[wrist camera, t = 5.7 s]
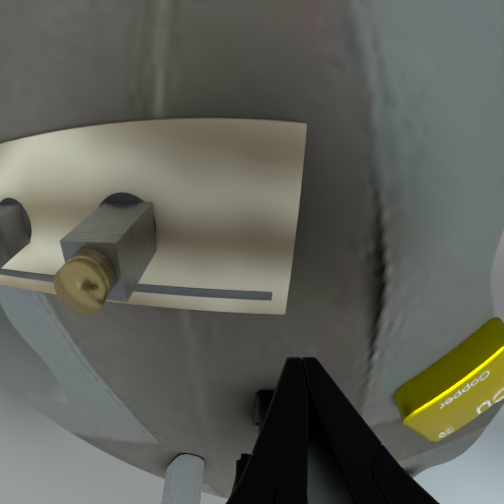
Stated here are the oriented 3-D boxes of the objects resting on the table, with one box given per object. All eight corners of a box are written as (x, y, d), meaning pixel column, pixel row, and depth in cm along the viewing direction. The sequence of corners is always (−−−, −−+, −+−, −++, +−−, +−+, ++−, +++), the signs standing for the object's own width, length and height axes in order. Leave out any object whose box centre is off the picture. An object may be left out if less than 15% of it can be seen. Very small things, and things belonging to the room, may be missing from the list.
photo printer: (189, 473, 40) (181, 533, 29) (164, 466, 39) (154, 527, 28) (208, 457, 35) (201, 531, 24) (180, 450, 34) (168, 525, 23)
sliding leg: (156, 250, 17) (115, 325, 11) (112, 248, 17) (60, 316, 11) (152, 202, 16) (98, 263, 10) (105, 202, 16) (40, 258, 10)
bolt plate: (283, 300, 21) (293, 396, 14) (1, 274, 21) (-47, 326, 13) (302, 122, 15) (342, 139, 8) (-27, 150, 15) (-96, 183, 8)
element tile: (497, 308, 22) (520, 337, 18) (508, 361, 27) (523, 384, 23) (387, 391, 27) (398, 426, 23) (425, 421, 32) (435, 446, 28)
